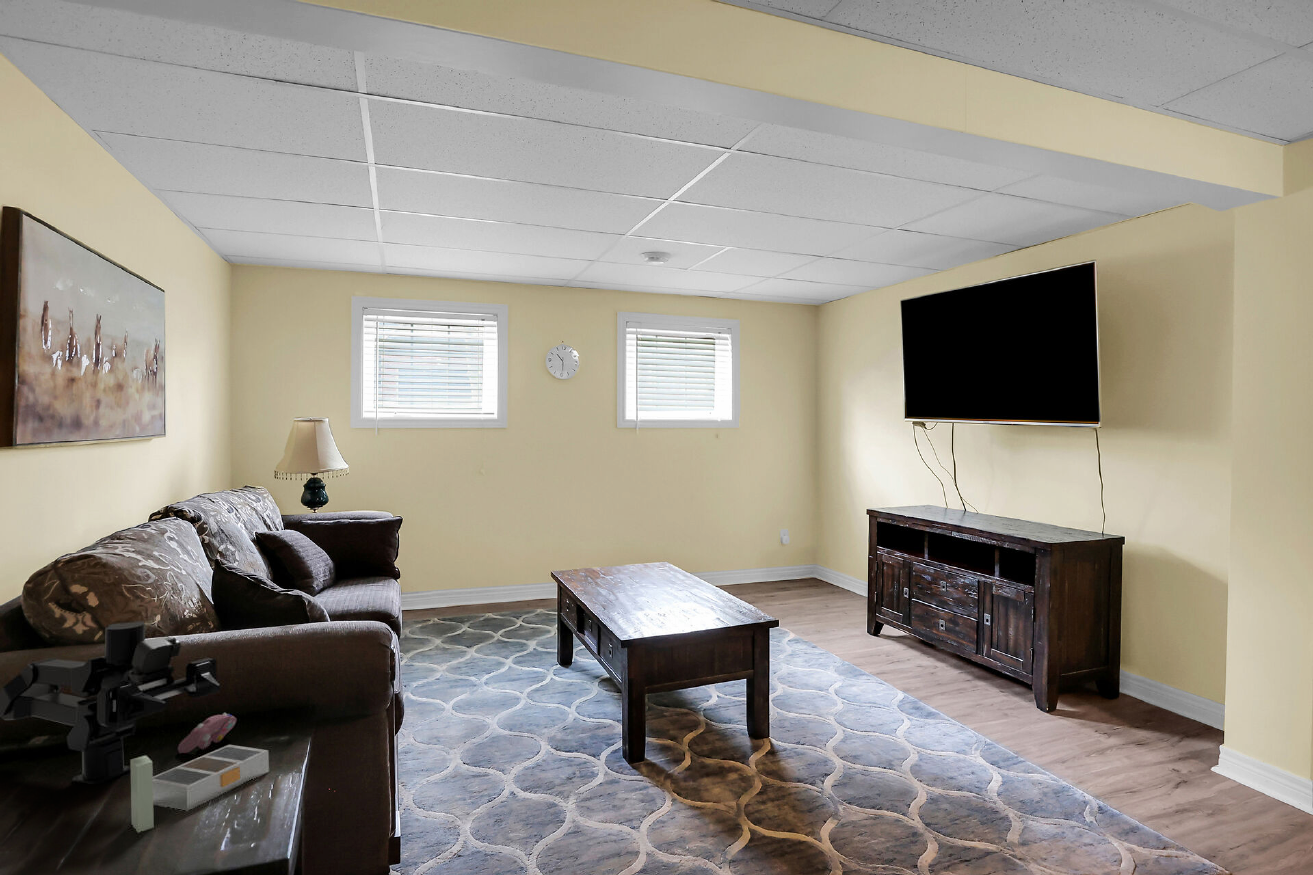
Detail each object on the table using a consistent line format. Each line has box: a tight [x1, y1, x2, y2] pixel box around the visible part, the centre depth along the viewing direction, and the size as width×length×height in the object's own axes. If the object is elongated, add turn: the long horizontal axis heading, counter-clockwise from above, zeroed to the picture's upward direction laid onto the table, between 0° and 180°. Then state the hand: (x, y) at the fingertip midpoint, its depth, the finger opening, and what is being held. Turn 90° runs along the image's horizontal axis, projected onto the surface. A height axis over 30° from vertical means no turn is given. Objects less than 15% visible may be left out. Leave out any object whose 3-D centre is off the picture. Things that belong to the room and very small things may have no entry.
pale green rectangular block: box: [130, 755, 155, 834], centre depth 109 cm, size 4×2×10 cm, turn 48°
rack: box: [153, 744, 270, 812], centre depth 122 cm, size 10×15×4 cm
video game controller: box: [177, 712, 237, 754], centre depth 141 cm, size 10×5×7 cm, turn 168°
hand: (193, 696), depth 119 cm, fingers open, 9 cm apart
